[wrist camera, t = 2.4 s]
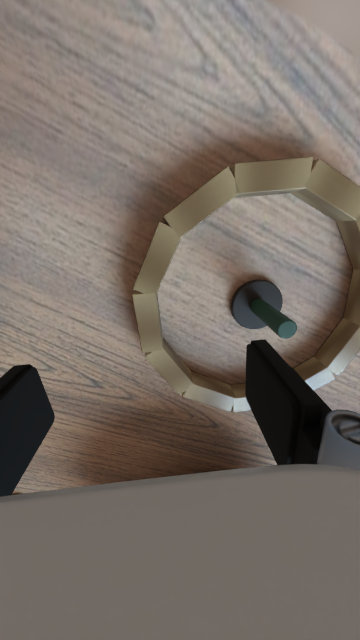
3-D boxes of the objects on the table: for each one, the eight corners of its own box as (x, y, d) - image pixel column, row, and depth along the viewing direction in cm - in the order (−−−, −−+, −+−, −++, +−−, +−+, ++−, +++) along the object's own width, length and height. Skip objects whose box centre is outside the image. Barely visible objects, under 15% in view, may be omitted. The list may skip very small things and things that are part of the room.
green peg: (230, 329, 19) (253, 362, 14) (230, 282, 17) (256, 301, 12) (277, 324, 19) (315, 355, 14) (281, 276, 17) (325, 294, 13)
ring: (154, 407, 21) (154, 422, 19) (116, 179, 14) (110, 173, 12) (344, 384, 22) (359, 397, 20) (399, 155, 15) (429, 146, 13)
